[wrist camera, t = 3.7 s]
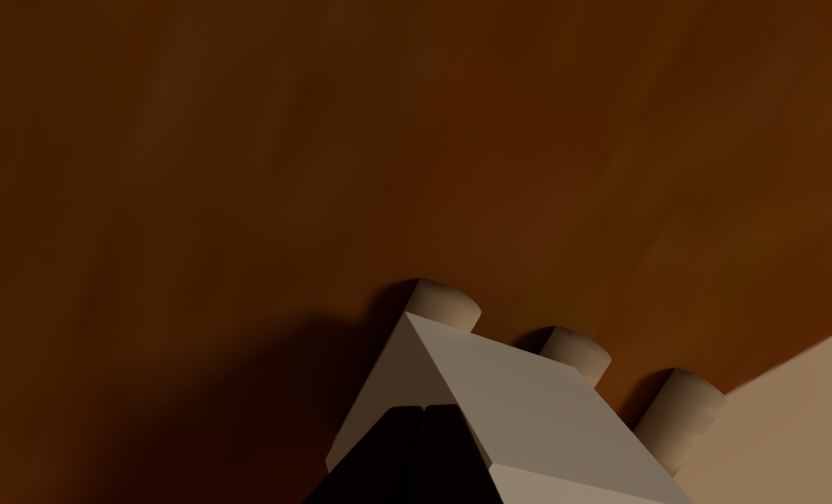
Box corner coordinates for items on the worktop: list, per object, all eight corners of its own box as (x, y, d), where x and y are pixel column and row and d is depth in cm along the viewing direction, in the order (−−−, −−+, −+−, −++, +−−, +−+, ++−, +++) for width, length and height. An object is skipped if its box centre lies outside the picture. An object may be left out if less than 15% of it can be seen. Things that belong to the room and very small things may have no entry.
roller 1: (347, 425, 23) (399, 459, 23) (323, 450, 21) (379, 488, 21) (429, 273, 22) (486, 307, 21) (411, 285, 20) (473, 322, 20)
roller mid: (508, 513, 23) (459, 473, 24) (529, 495, 25) (483, 458, 26) (602, 366, 22) (547, 329, 22) (617, 357, 23) (566, 322, 24)
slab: (325, 459, 20) (378, 649, 15) (404, 311, 19) (492, 463, 14) (494, 495, 23) (590, 667, 18) (574, 367, 22) (702, 511, 16)
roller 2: (592, 483, 28) (638, 513, 28) (588, 507, 26) (637, 539, 26) (673, 361, 26) (724, 391, 26) (675, 377, 25) (730, 409, 24)
